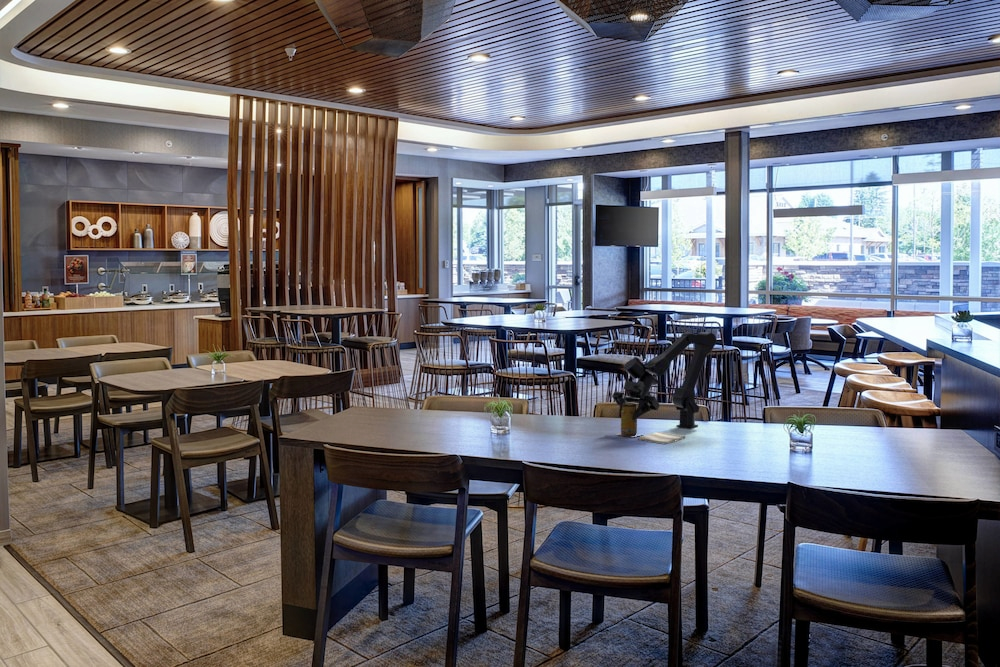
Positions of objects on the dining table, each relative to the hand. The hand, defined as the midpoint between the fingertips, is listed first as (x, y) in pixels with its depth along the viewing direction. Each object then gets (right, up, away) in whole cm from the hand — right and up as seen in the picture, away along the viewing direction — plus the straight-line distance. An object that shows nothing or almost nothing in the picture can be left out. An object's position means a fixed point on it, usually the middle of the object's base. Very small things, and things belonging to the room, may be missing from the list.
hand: (626, 418), depth 303 cm
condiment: (+2, -7, +1) cm, 7 cm away
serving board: (+12, -7, -6) cm, 15 cm away
